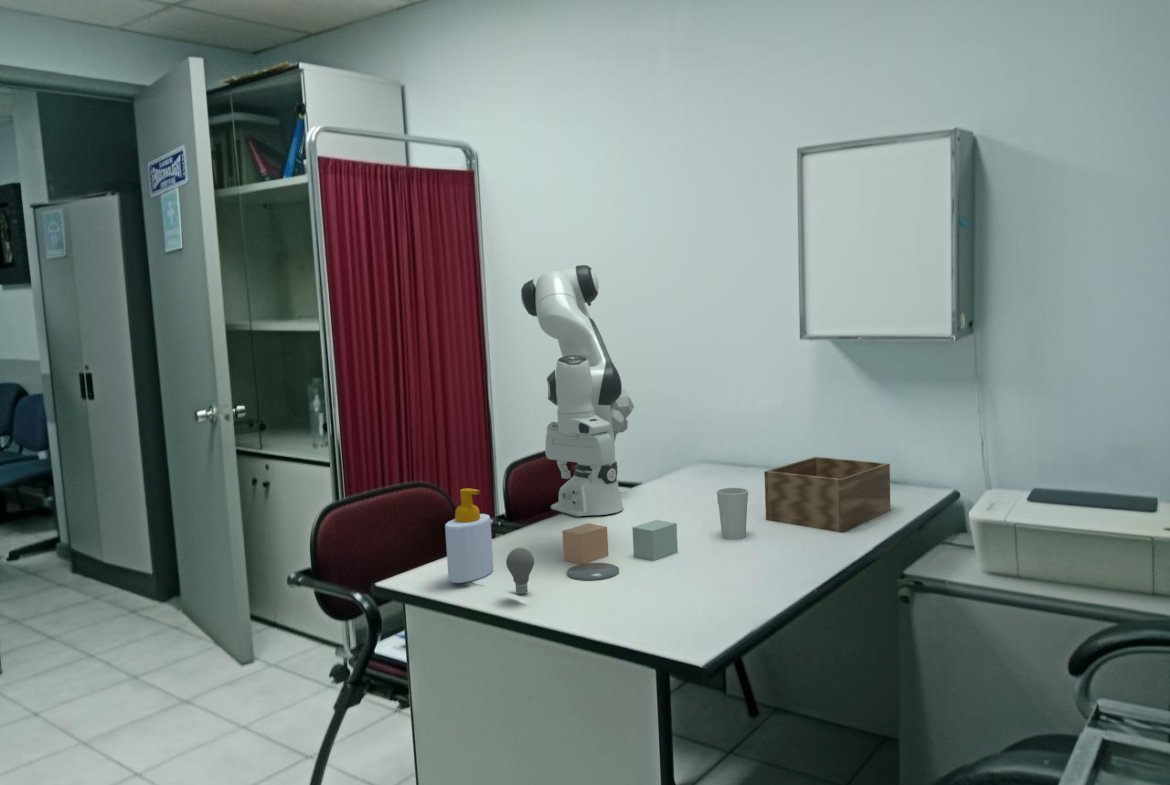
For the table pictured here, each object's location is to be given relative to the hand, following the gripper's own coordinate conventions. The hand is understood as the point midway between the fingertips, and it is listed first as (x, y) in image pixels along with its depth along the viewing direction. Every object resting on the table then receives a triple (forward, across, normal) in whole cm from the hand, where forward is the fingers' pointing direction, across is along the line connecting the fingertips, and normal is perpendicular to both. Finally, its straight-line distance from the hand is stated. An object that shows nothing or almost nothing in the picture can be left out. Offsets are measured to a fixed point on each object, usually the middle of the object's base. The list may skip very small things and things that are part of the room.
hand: (579, 480), depth 222 cm
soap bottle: (+19, -11, -26) cm, 34 cm away
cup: (+20, +18, +37) cm, 45 cm away
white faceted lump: (+19, -35, +45) cm, 60 cm away
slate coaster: (+19, +11, -8) cm, 23 cm away
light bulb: (+19, +9, -28) cm, 35 cm away
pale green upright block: (+19, +12, +12) cm, 26 cm away
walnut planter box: (+20, +27, +67) cm, 75 cm away
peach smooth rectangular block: (+19, 0, 0) cm, 19 cm away
